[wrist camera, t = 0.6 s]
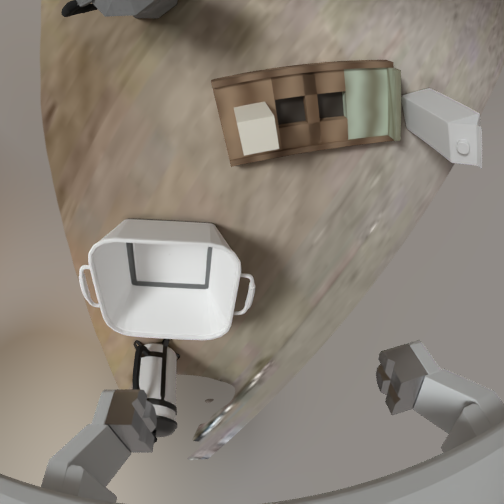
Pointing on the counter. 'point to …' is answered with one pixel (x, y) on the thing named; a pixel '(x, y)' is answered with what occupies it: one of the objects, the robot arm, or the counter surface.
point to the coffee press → (158, 382)
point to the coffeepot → (120, 7)
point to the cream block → (256, 128)
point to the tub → (166, 280)
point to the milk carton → (444, 125)
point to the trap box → (315, 106)
